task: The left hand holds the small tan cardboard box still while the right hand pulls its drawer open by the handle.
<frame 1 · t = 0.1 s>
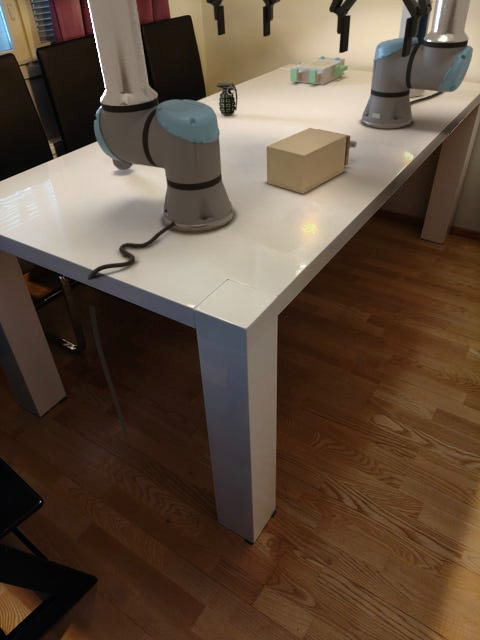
left hand: (243, 35, 129), 28 cm above the table, tool pointing down, fingers open, 13 cm apart
right hand: (373, 53, 101), 28 cm above the table, tool pointing down, fingers open, 13 cm apart
tan cardboard box: (305, 177, 123), on the table
drawer: (321, 152, 123), point 5 cm above the table, slide at 1.6 cm
electronic device: (403, 95, 179), on the table
molecular model: (147, 156, 141), on the table
grenade: (228, 115, 169), on the table
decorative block: (317, 79, 207), on the table
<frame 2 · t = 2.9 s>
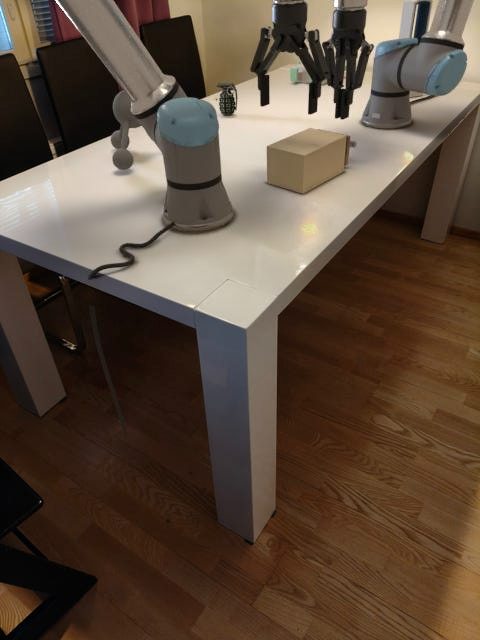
left hand: (288, 109, 115), 16 cm above the table, tool pointing down, fingers open, 13 cm apart
right hand: (341, 117, 124), 11 cm above the table, tool pointing down, fingers closed
nothing on the table moved.
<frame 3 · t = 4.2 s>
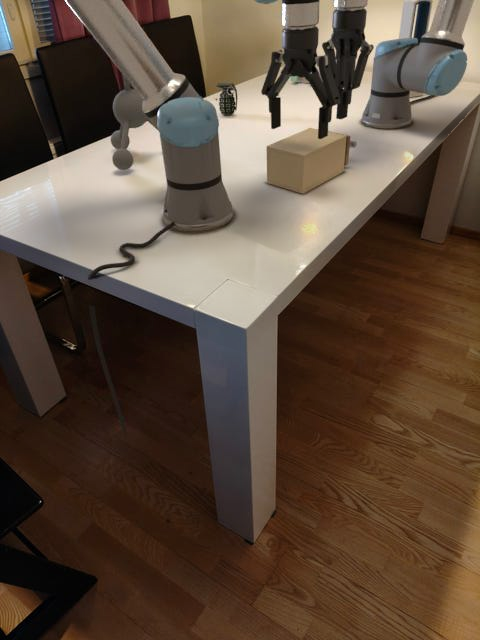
left hand: (298, 132, 113), 12 cm above the table, tool pointing down, fingers open, 13 cm apart
right hand: (341, 117, 124), 11 cm above the table, tool pointing down, fingers closed
nothing on the table moved.
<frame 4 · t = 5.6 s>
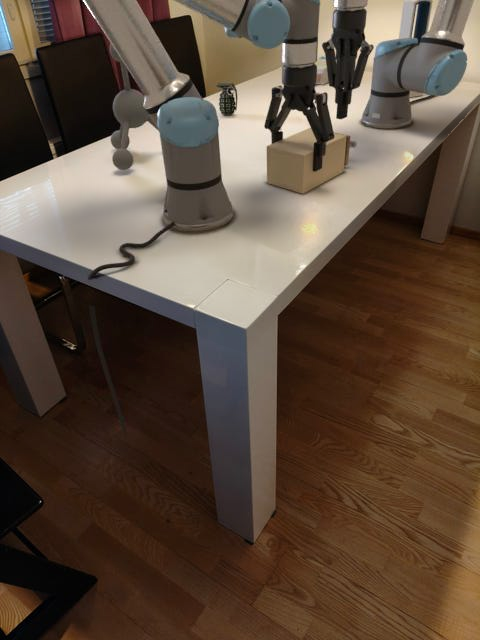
left hand: (297, 164, 118), 4 cm above the table, tool pointing down, fingers closed on tan cardboard box, 11 cm apart
right hand: (341, 117, 124), 11 cm above the table, tool pointing down, fingers closed
tan cardboard box: (305, 177, 123), on the table, touching left hand
everything else where it was.
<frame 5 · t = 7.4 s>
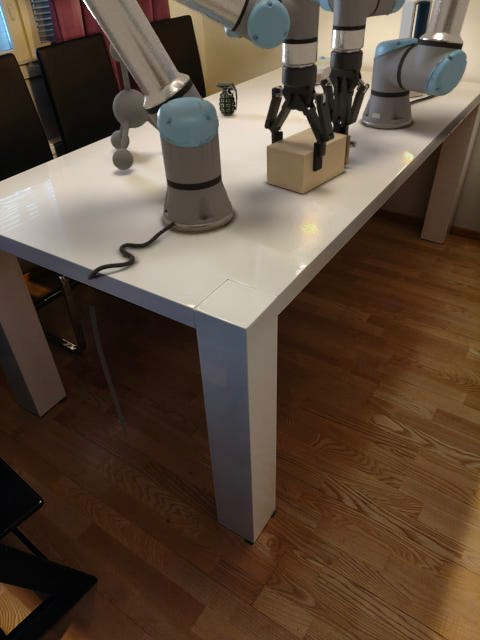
left hand: (297, 164, 118), 4 cm above the table, tool pointing down, fingers closed on tan cardboard box, 11 cm apart
right hand: (338, 149, 129), 3 cm above the table, tool pointing down, fingers closed
tan cardboard box: (305, 177, 123), on the table, touching left hand
drawer: (321, 151, 123), point 5 cm above the table, slide at 1.7 cm, touching right hand
everything else where it was.
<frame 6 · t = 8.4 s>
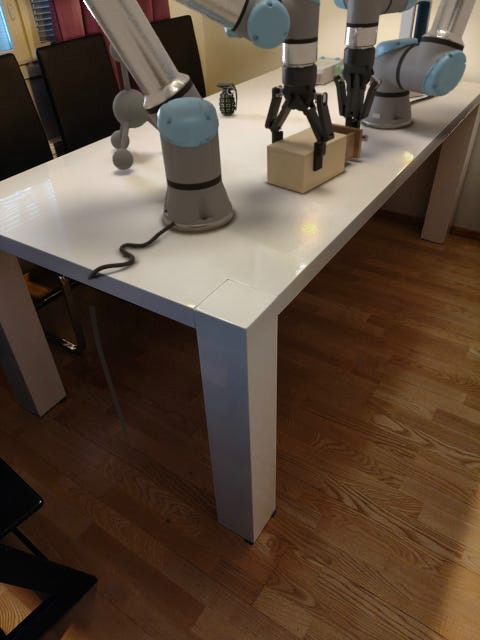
left hand: (297, 164, 118), 4 cm above the table, tool pointing down, fingers closed on tan cardboard box, 11 cm apart
right hand: (350, 144, 132), 3 cm above the table, tool pointing down, fingers closed
tan cardboard box: (306, 176, 123), on the table, touching left hand
drawer: (334, 145, 127), point 5 cm above the table, slide at 7.3 cm, touching right hand
everything else where it was.
when the left hand's fingers open (5 cm above the table, at t = 10.3 s): tan cardboard box stays where it is, on the table.
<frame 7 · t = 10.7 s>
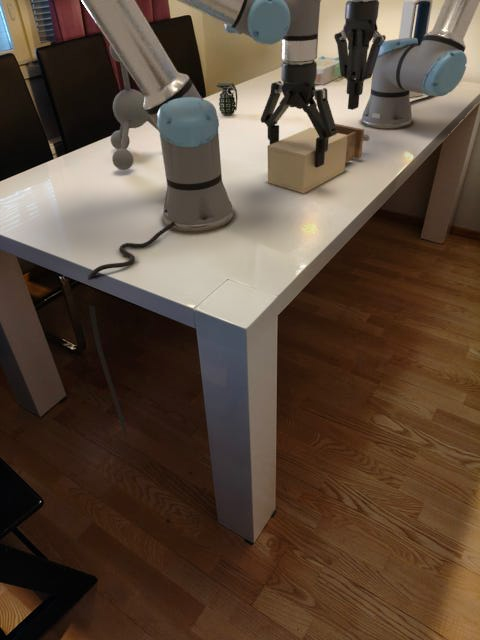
left hand: (296, 159, 117), 6 cm above the table, tool pointing down, fingers open, 13 cm apart
right hand: (353, 108, 126), 12 cm above the table, tool pointing down, fingers closed
tan cardboard box: (306, 176, 123), on the table
drawer: (335, 145, 127), point 5 cm above the table, slide at 7.5 cm
everything else where it was.
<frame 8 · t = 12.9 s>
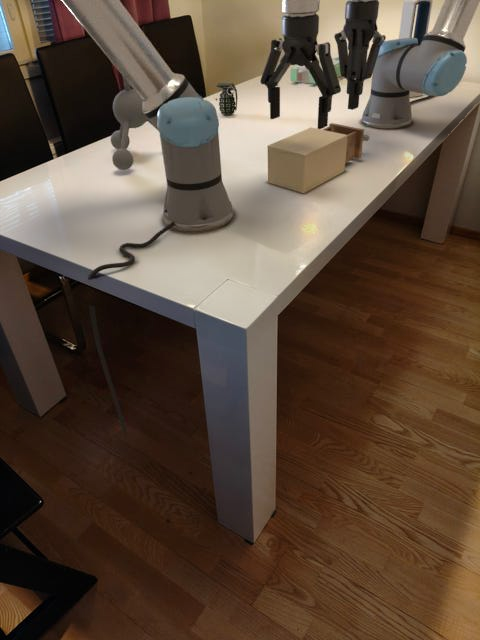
left hand: (297, 122, 112), 14 cm above the table, tool pointing down, fingers open, 13 cm apart
right hand: (353, 108, 126), 12 cm above the table, tool pointing down, fingers closed
nothing on the table moved.
at the end: drawer slide at 7.5 cm; tan cardboard box tilted 0°; tan cardboard box never tilted more than 2° during the clip; tan cardboard box moved 0.4 cm from its start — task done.
